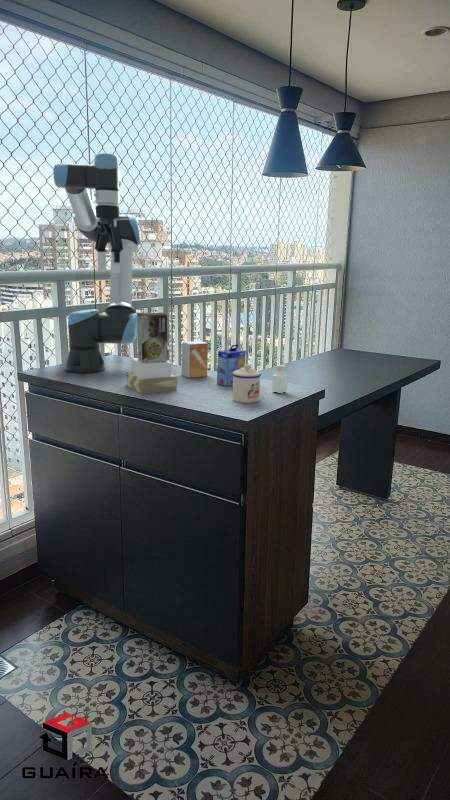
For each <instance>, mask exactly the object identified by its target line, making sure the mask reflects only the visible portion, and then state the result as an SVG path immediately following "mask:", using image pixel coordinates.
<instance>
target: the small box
mask: <svg viewBox="0 0 450 800" xmlns="http://www.w3.org/2000/svg"><path fill="white" fill-rule="evenodd" d="M208 346H209V343H208V342H205V341H202V340H194V341H193V340H191V341H182V342H181V376H184V377H187V378H189V379H191V378H200V377H208V355H209V353H208V352H209V351H208V349H209V347H208Z"/></svg>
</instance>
